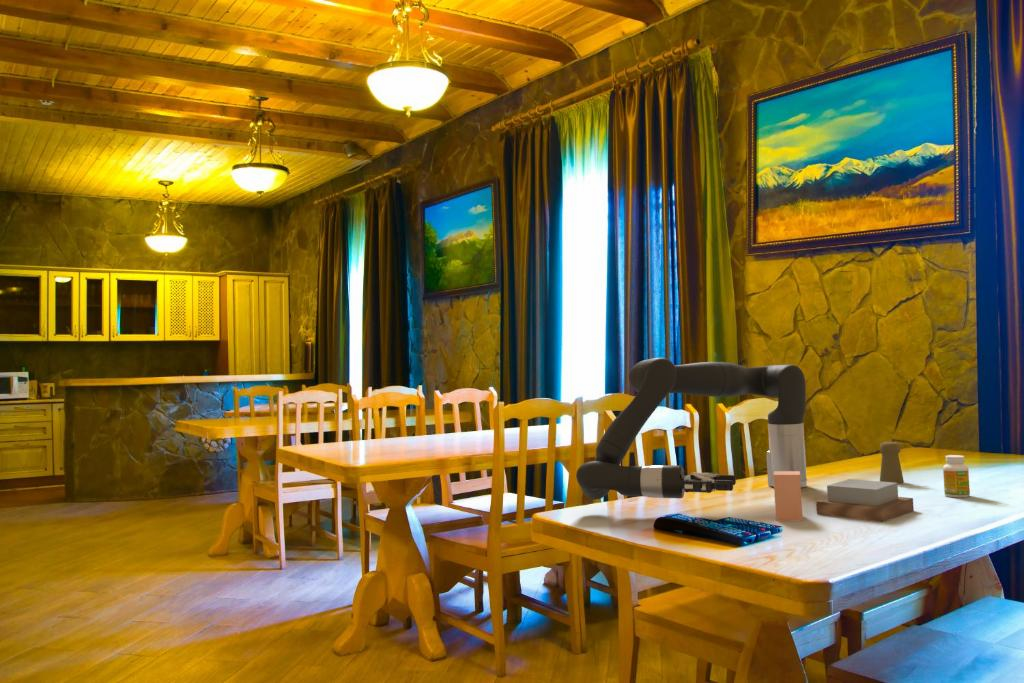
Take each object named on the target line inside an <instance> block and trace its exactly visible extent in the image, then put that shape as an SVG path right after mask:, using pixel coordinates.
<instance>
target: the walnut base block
mask: <svg viewBox="0 0 1024 683" xmlns="http://www.w3.org/2000/svg"><path fill="white" fill-rule="evenodd" d="M815 504H816V508H815V509H816V514H817V515H821V514H822V515H824V516H831V517H838V518H839V517H840V518H847V519H857V520H865V521H873V522H882V523H884V522H887V521H891V520H892V519H895V518H898V517H901V516H904V515H907V514H909V513H911V512H914V511H915V509H914V497H905V496H898V499H895V500H892V501H890V502H887V503H884V504H881V505H878V506H873V505H863V504H852V503H842V502H832V501H828V497H826V498H823V499H819V500H816V501H815ZM822 515H821V516H822Z"/></svg>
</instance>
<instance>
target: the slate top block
mask: <svg viewBox="0 0 1024 683" xmlns="http://www.w3.org/2000/svg"><path fill="white" fill-rule="evenodd" d="M898 485H899V484H897V483H894V482H880V480H877V481H876V480H868V479H867V480H865V479H853V478H851V479H850V478H848V479H846V480H842V481H838V482H835V483H831V484H828V485H827V486H826V489H827V490H826V491H827V498H828V501H832V502H842V503H852V504H863V505H873V506H878V505H881V504H884V503H887V502H890V501H892V500H895V499H898V497H899V488H898V487H899V486H898Z"/></svg>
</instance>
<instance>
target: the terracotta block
mask: <svg viewBox="0 0 1024 683" xmlns="http://www.w3.org/2000/svg"><path fill="white" fill-rule="evenodd" d="M773 489H774V492H773V493H774V506H775V507H774V508H775V509H774V510H775V521H784V520H796V521H797V522H798V521H799V522H802V521H803V505H802V488H801V483H800V471H774V487H773ZM796 521H795V522H796Z"/></svg>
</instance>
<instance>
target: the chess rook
mask: <svg viewBox="0 0 1024 683" xmlns="http://www.w3.org/2000/svg"><path fill="white" fill-rule="evenodd" d="M879 453H880V454H881V460H880V462H881V463H880V472H879V473H880V475H879V481H880V482H894V483H897V485H903V484H904V483H905V480H904V476H903V470H902V467H901V461H900V457H899V456H900V455H899V454H900V453H901V445H900V444H899V443H898V442H894V441H883V442H881V443H880V444H879Z"/></svg>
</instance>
